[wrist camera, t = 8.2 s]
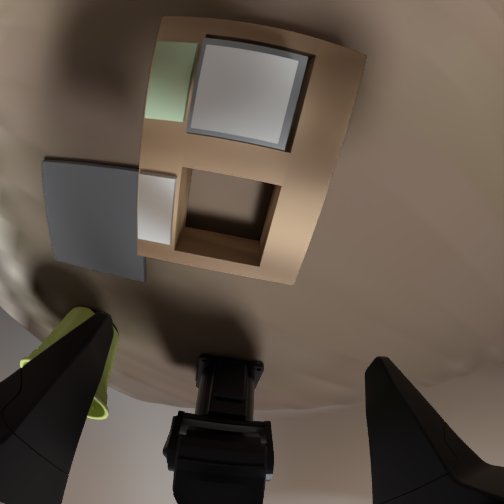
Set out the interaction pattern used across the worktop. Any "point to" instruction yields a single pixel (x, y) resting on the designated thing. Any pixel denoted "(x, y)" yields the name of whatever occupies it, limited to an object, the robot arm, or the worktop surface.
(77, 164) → the pad
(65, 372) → the robot arm
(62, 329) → the plant pot
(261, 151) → the socket block
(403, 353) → the worktop surface
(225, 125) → the plug
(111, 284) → the worktop surface
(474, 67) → the worktop surface
